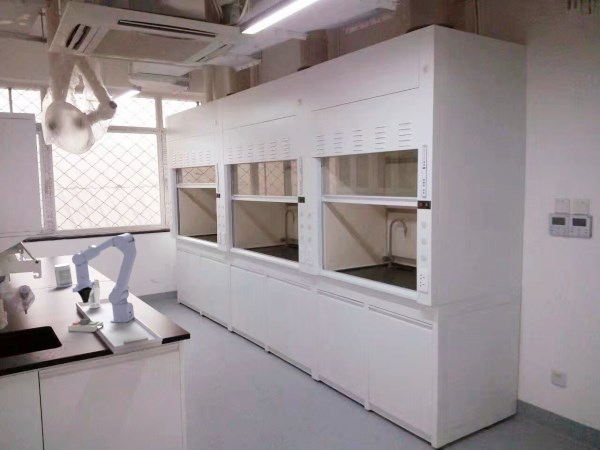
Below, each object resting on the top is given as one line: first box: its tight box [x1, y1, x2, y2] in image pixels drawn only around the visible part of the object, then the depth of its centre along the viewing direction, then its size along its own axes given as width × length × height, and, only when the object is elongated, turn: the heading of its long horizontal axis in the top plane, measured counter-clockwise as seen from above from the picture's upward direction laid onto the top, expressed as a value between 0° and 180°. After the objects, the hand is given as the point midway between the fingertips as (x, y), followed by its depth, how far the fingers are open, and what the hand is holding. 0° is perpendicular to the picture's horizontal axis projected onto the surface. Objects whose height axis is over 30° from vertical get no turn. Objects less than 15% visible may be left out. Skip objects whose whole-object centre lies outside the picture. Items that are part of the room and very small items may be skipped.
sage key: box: [89, 321, 99, 325], centre depth 228 cm, size 3×3×2 cm
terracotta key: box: [71, 320, 80, 325], centre depth 230 cm, size 3×3×2 cm
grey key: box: [79, 317, 91, 325], centre depth 229 cm, size 3×3×2 cm
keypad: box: [67, 320, 104, 333], centre depth 229 cm, size 14×7×3 cm, turn 77°
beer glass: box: [88, 279, 102, 309], centre depth 266 cm, size 7×7×15 cm
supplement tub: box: [53, 263, 73, 289], centre depth 323 cm, size 10×10×15 cm
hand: (85, 302), depth 242 cm, fingers closed
